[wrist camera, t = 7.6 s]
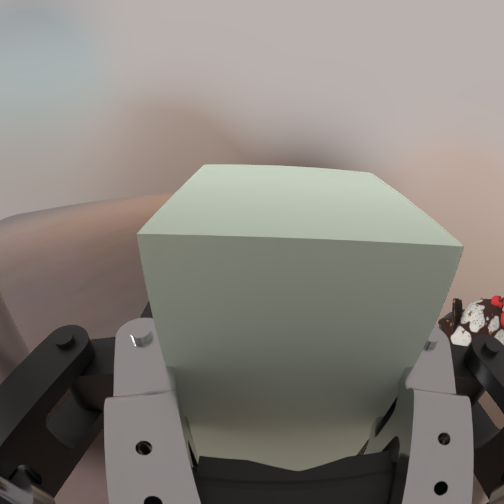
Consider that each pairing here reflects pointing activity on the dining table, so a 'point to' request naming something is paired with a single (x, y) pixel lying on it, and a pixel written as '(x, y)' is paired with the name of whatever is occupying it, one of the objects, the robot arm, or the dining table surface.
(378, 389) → the green block
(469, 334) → the sundae
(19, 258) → the dining table surface
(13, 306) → the dining table surface
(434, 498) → the robot arm
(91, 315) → the dining table surface
